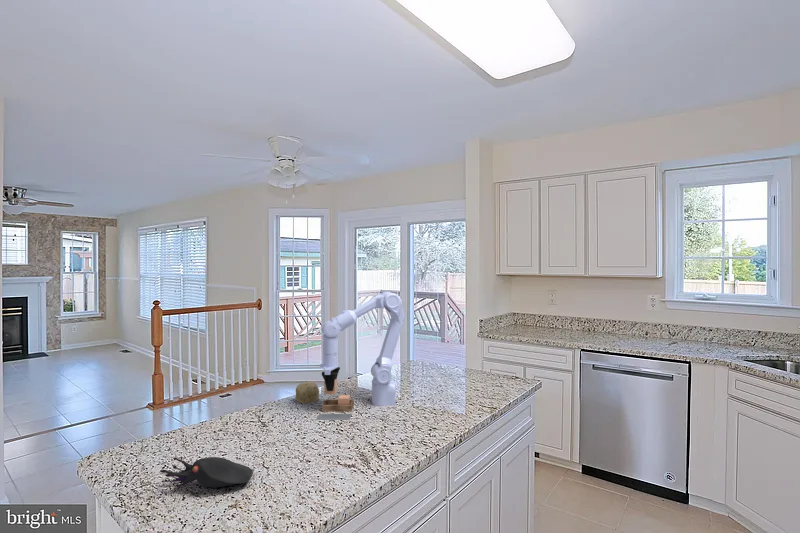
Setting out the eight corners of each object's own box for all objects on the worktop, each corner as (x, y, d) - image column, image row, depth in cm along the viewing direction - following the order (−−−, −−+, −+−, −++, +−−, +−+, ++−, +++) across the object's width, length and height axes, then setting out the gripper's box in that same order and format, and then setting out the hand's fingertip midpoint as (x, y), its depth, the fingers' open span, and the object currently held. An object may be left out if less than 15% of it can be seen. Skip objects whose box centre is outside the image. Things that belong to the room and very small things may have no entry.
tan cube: (337, 390, 162) (336, 379, 162) (335, 394, 158) (334, 382, 158) (326, 390, 162) (326, 379, 162) (324, 394, 158) (324, 382, 158)
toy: (166, 472, 112) (182, 437, 112) (241, 499, 114) (256, 465, 114) (148, 493, 102) (165, 454, 102) (230, 522, 104) (247, 484, 104)
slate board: (351, 416, 154) (351, 413, 154) (349, 421, 149) (349, 419, 148) (319, 416, 154) (319, 414, 154) (315, 422, 149) (315, 419, 149)
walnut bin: (353, 406, 164) (353, 399, 163) (351, 413, 157) (351, 405, 156) (325, 407, 164) (325, 399, 164) (321, 413, 157) (321, 405, 157)
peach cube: (350, 406, 162) (350, 395, 162) (348, 410, 158) (348, 398, 158) (339, 406, 162) (339, 395, 162) (338, 410, 158) (337, 398, 158)
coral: (316, 396, 176) (316, 378, 176) (321, 403, 168) (321, 384, 168) (294, 399, 173) (293, 381, 173) (297, 407, 164) (297, 387, 164)
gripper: (324, 349, 167) (324, 383, 167) (315, 357, 153) (316, 395, 153) (341, 348, 167) (342, 383, 167) (335, 357, 152) (336, 395, 153)
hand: (331, 388), depth 160 cm, fingers closed on tan cube, 4 cm apart
